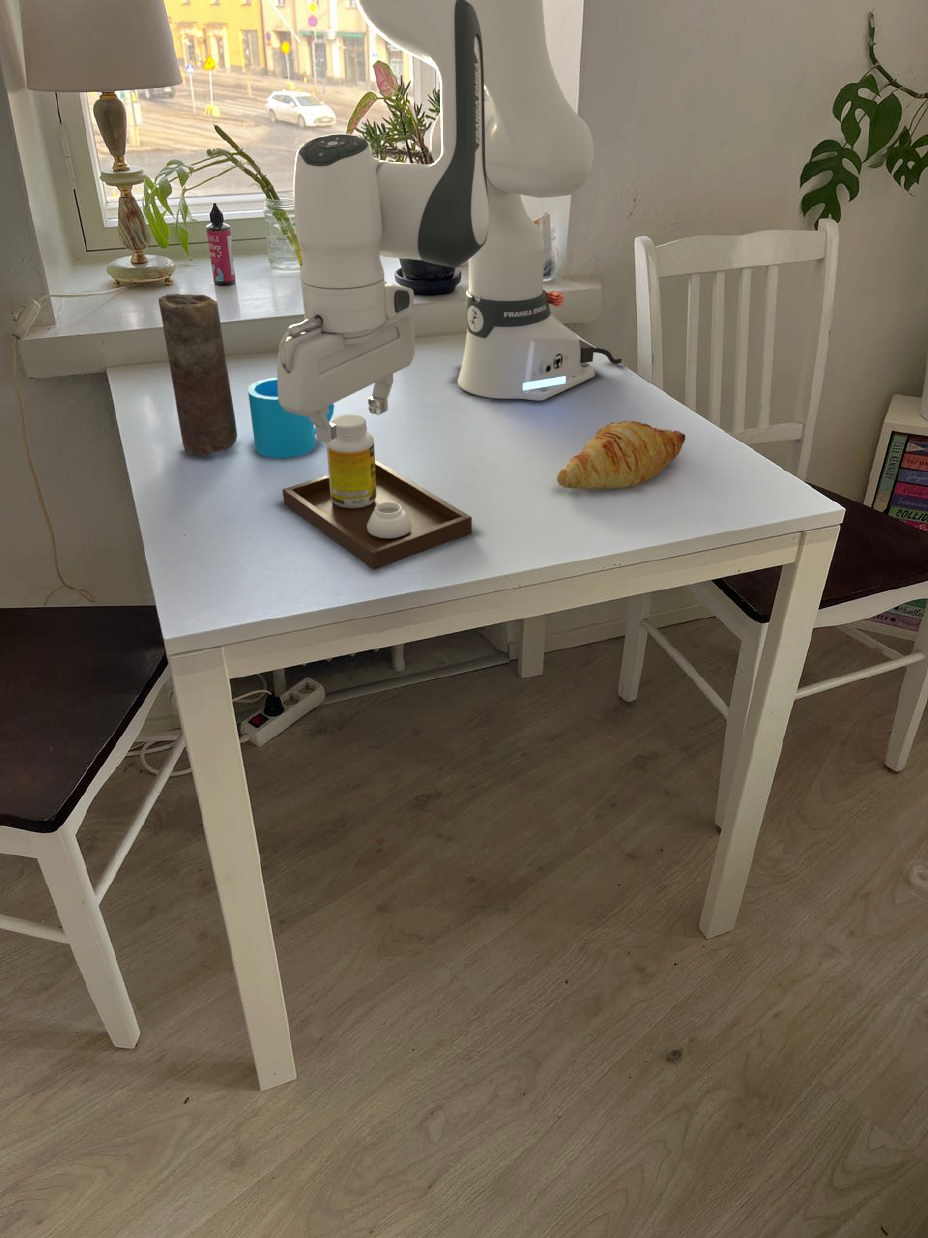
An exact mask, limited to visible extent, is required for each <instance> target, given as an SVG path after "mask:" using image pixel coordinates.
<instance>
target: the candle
mask: <svg viewBox="0 0 928 1238" xmlns="http://www.w3.org/2000/svg"><path fill="white" fill-rule="evenodd" d="M158 306H159V311H160V316H161V317H160V318H161V323H162V329H163V334H164V335H163V336H164V339H165V346H166V352H167V358H168V364H169V368H170V375H171V381H172V387H173V392H174V400H175V406H176V412H177V419H178V425H179V429H180V436H181V442H182V443H181V444H182V446H183V449H184V451H185V453H186V454H188V455H190V456H205V457H206V456H209V455H211V454H212V453H217V452H222V451H223V452H225V451H226V450H228V449H231V447H233V446H234V444H235V443H236V442H237V438H238V430H237V429H238V428H237V422H236V416H235V409H234V403H233V396H232V391H231V384H230V377H229V370H228V364H227V357H226V349H225V344H224V336H223V329H222V324H221V316H220V310H219V303H218V301H217V300H214V299H213V298H211V297H210V296H208V295H206V294H189V293H185V294H181V293H168V294H165V295H162V296H159V298H158Z"/></svg>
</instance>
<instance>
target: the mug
mask: <svg viewBox="0 0 928 1238" xmlns="http://www.w3.org/2000/svg"><path fill="white" fill-rule="evenodd" d="M247 393H248V401H249V402H248V403H249V409H250V416H251V425H252V433H253V442H254V448H255V451H256V452H257V453H258V454H260V455H262V456H264V457H268V458H272V459H289V458H291V459H292V458H296V457H301V456H304V455H306V454H309V453H310V452H311V451H313V450H314V449H315V447H316V436H315V435H316V426H315V425H314V424H313V422H312V421H311V420H310V418H309V417H308V416H301V415H297V414H293V413H290V412H287V411H285V410H284V409H283V408H282V406H281V405H280V404H279V399H278V383H277V377H270V378H265V379H261V380H257V381H255V382H254V383H252V384H250V385H249V387H248V388H247ZM334 411H335V403H333V404H331V405H329V414H327V415H326V417H327V419H328V421H329V423H331V420H332V417H333V415H334Z"/></svg>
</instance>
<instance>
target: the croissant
mask: <svg viewBox="0 0 928 1238" xmlns="http://www.w3.org/2000/svg"><path fill="white" fill-rule="evenodd" d="M685 441H686V434H685V433H682V432H681V431H679V430H673V431H672V430H669V429H660V428H657V427H652V426H651V425H649V424H647V423H645V422H644V423H642V422H638V421H633V420H621V421H618V422H610V423H608V424H605V425H604V426H603V427H601V428H600V429H598V431H596V433H595V435H594V437H593V438H590V439H589V440H588V441H586V444H585V445H584V446H583V448H582V451H581V452H580V453H579V454H576V455H573V456H572V457H571V458H570V459H569V461H568V463H567V464H566V468H562V469H560V470H559V471H558V473H557V477H556V481H557V483H558V485H559V486H561V487H564V488H568V489H576V490H587V491H588V490H611V489H612V490H613V489H623V488H629V487H631V488H634V487H637V486H639V484H640V483H645V482H648V481H650V480H651V479H653V478H654V477H657V476H658V475H659V474H660V473H661V472H662V471H663V469H664V468H666V467H667V465H669V463H671V462H672V461H673V460H674V459H675V458H676V457H677V456H679V454H680V453H681V451H682V448H683V444H684V443H685Z"/></svg>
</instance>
